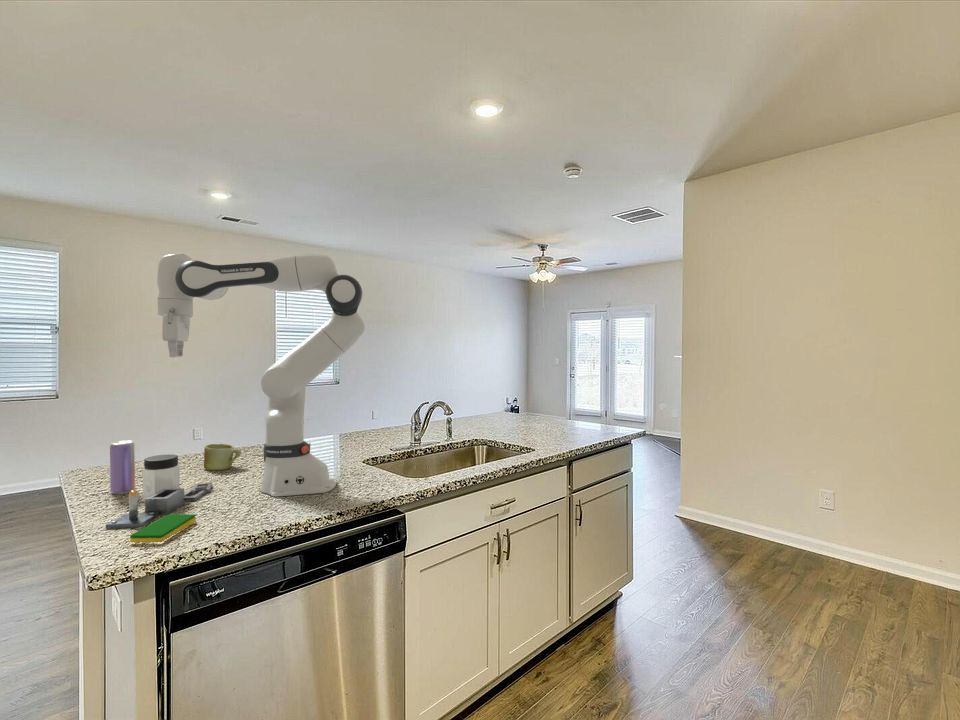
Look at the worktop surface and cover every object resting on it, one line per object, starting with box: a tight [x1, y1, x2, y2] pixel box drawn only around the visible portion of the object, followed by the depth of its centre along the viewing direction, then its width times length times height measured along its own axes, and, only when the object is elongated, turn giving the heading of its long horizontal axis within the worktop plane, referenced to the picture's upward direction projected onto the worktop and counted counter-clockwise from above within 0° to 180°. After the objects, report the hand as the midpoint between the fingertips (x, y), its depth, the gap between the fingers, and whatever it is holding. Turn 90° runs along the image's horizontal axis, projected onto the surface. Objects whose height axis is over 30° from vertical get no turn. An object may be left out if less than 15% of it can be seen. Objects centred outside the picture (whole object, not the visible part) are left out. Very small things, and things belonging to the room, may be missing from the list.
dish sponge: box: [129, 513, 197, 543], centre depth 115 cm, size 7×14×2 cm, turn 1°
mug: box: [203, 443, 242, 471], centre depth 174 cm, size 12×10×10 cm
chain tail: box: [184, 482, 213, 502], centre depth 145 cm, size 7×16×2 cm, turn 7°
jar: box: [142, 453, 181, 503], centre depth 139 cm, size 9×8×12 cm
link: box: [144, 488, 185, 516], centre depth 130 cm, size 5×9×4 cm, turn 6°
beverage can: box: [109, 440, 136, 495], centre depth 146 cm, size 6×6×15 cm
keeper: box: [105, 490, 160, 529], centre depth 121 cm, size 8×8×8 cm
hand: (176, 356), depth 143 cm, fingers open, 8 cm apart
